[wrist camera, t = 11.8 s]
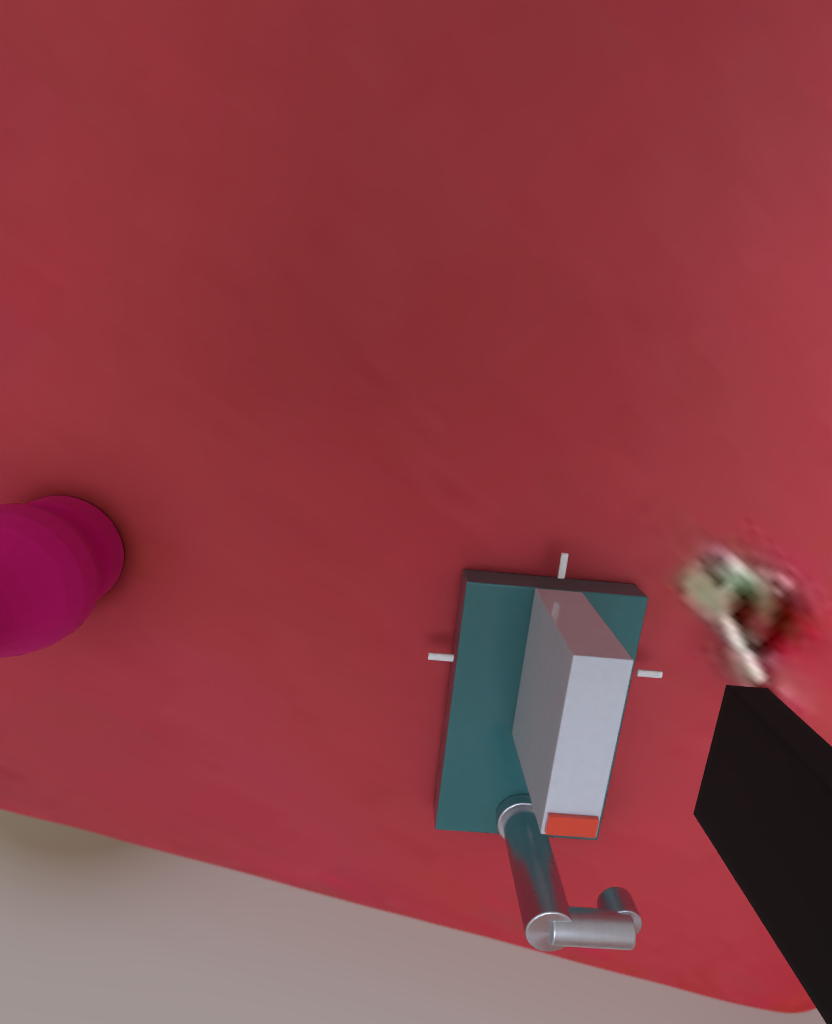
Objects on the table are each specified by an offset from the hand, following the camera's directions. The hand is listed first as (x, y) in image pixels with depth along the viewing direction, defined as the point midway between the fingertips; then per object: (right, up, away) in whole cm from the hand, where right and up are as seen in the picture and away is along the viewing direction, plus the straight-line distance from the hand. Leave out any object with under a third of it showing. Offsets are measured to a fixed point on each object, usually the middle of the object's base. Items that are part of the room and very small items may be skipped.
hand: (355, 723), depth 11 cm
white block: (+8, -5, +23) cm, 25 cm away
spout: (+9, -15, +25) cm, 31 cm away
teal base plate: (+8, -7, +25) cm, 27 cm away
